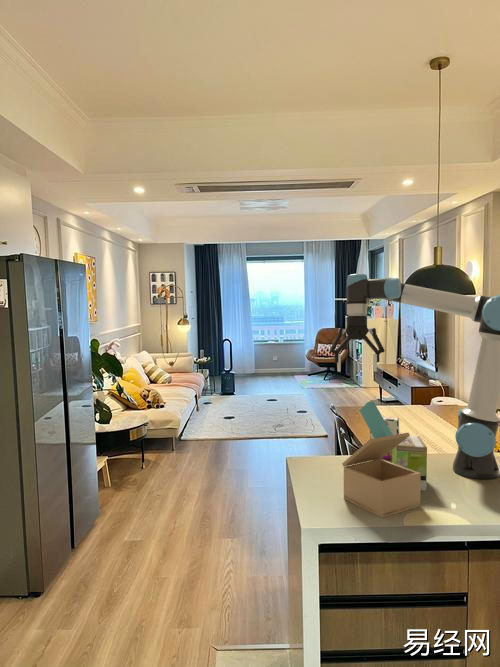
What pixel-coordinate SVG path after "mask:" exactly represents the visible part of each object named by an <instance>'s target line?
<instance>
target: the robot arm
mask: <svg viewBox="0 0 500 667" xmlns="http://www.w3.org/2000/svg"><path fill="white" fill-rule="evenodd" d="M368 300H384V301H390V302H394V303H400V304H405V305H410V306H413V307H414V306H415V307H419V308H423V309H428V310H432V311H433V310H434V311H438V312H442V313H447V314H450V315H456V316H460V317H461V316H462V317H465V318H469V319H471V320H472V321H473V322H476V323H479V327H478V334H479V335H480V336H481V341H480V346H479V352H478V356H477V361H476V365H475V369H474V375H473V379H472V383H471V388H470V392H469V398H468V402H467V406H466V407H465V408H461V409H459V410H458V412H457V418H458V419H457V420H458V421H457V422H458V423H457V429H456V432H455V441H456V444H457V446H458V447H457V452H456V453H455V454H456V455H455V457H454V459H453V460H454V461H453V463H452V471H453V472H454V473H455V474H457V475H459V476H464V477H466V478H471V479H478V480H493V479H497V478H498V477H499V476H500V468H499V464H498V462H497V460H496V457H495V453H494V452H495V451H494V450H495V447H496V444H497V441H496V440H497V432H498V430H499V429H498V428H499V423H500V418H499V417H498V415H497V409H498V404H499V399H500V294H496V295H493V296H485V295H481V294H480V295H479V296H476V297H475V296H471V295H470V296H469V295H464V294H461V293H455V292H449V291H444V290H439V289H433V288H427V287H423V286H418V285H413V284H409V283H408V284H407V283H403V282H401V280H400V278H399V277H386V278H385V277H384V278H372V279H371V278H368V275H367V274H366V273H353V274H349V275H347V278H346V315H347V316H346V328H342V327H340V328H338V329H337V335H336V337H335V339H334V341H333V343H332V345H331V346H330V349H329V352H330V353H332V354H334V362H335V363H336V364H337V365H336V368H337V370H336V371H337V372H339V373H341V368H342V367H341V362H342V361H341V360H342V358H341V356H342V355H341V354H340V353H341V351H343V349H344V347H345V346H346V345H347V344H348V342H350V341H351V340H352V341H357V340H358V341H362V340H363V341H364V342H365V343H366V344H367V345H368V347H370V349H371V350H372V351H373V352H374V353H373V354H372V371H373V372H375V373H376V372H377V373H378V363H380V354H382V353H385V351H386V350H385V348H384V346H383V344H382V342H381V341H380V338H379V337H378V335H377V329H376V327H372V328H368V316H367V314H368ZM368 333H369V334H370V335H371V336H372V339H373V340H374V343H375V344H376V345H375V344H374V343H373V342H372V341H371V339H369V337H368V336H367V335H368ZM344 334H346V337H345V339H344V340H343V341H342V342H341V343H340V340H341V338H342V335H344ZM339 343H340V344H339ZM338 344H339V346H338ZM337 346H338V347H337ZM376 346H377V347H376Z"/></svg>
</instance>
